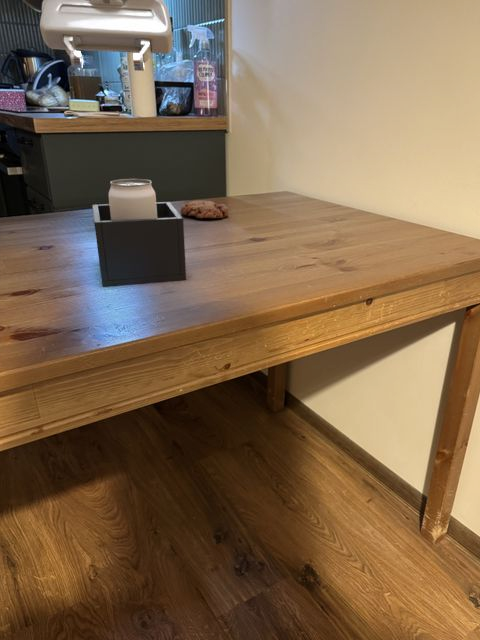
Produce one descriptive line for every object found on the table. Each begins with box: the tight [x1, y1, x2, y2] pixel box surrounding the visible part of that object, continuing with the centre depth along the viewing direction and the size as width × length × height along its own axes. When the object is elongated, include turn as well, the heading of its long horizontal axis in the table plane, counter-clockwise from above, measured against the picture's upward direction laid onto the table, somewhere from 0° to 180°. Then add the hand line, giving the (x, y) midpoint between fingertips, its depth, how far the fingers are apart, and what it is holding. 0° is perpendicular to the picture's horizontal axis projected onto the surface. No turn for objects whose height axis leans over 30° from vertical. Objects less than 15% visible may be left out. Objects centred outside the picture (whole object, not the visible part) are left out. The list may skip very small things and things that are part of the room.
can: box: [108, 178, 157, 220], centre depth 72 cm, size 6×6×12 cm
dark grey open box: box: [91, 201, 187, 287], centre depth 73 cm, size 12×12×9 cm
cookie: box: [179, 199, 229, 219], centre depth 108 cm, size 10×11×3 cm
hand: (107, 66), depth 78 cm, fingers open, 8 cm apart
